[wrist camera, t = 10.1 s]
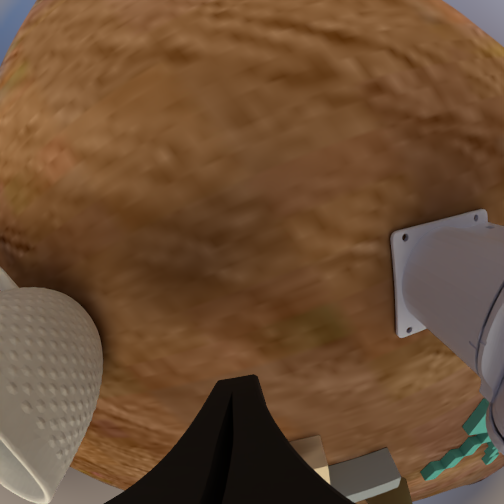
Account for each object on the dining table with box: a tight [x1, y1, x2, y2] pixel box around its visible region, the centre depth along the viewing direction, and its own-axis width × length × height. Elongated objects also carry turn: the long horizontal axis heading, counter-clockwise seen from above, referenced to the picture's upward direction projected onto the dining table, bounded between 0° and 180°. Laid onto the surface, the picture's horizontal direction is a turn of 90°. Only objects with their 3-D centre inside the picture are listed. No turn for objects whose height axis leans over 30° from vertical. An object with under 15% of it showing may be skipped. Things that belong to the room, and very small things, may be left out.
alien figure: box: [421, 399, 499, 481], centre depth 23 cm, size 20×2×20 cm
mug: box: [0, 267, 103, 504], centre depth 12 cm, size 15×11×13 cm
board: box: [328, 448, 401, 503], centre depth 21 cm, size 22×2×4 cm, turn 103°
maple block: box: [289, 435, 330, 484], centre depth 21 cm, size 8×6×4 cm
